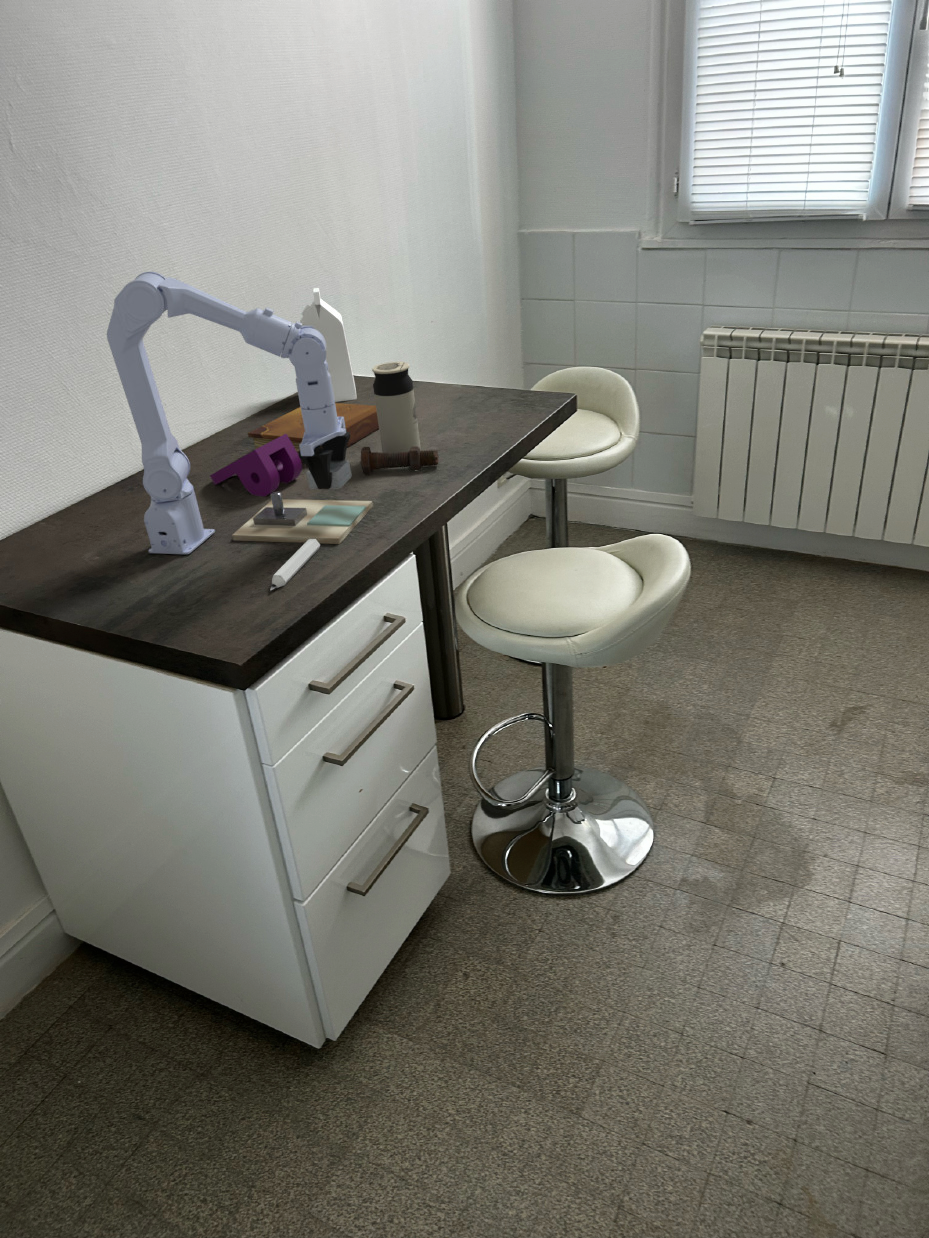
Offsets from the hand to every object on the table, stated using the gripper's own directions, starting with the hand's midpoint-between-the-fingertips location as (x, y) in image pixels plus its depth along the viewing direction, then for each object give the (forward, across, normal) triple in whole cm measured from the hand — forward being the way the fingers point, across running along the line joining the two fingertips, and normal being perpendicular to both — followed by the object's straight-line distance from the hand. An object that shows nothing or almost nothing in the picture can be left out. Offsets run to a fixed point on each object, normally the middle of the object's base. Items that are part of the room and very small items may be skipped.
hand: (331, 481), depth 158 cm
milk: (+8, +77, +33) cm, 84 cm away
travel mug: (+8, +35, 0) cm, 36 cm away
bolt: (+8, +25, -3) cm, 27 cm away
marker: (+8, -19, 0) cm, 21 cm away
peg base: (+8, -2, +10) cm, 13 cm away
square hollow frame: (0, 0, 0) cm, 0 cm away
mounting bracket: (+8, +17, +25) cm, 31 cm away
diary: (+8, +42, +22) cm, 48 cm away
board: (+8, -1, +6) cm, 10 cm away
